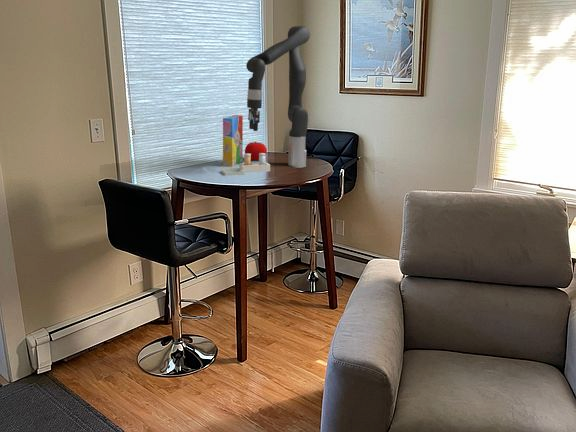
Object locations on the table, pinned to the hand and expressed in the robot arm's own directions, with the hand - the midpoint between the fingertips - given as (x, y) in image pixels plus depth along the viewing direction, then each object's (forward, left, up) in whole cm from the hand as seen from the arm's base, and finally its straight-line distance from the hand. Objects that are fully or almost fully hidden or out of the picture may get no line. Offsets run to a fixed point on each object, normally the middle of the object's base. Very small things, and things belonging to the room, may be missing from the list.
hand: (253, 129), depth 284 cm
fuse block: (0, +3, -22) cm, 22 cm away
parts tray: (+13, +7, -22) cm, 27 cm away
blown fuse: (+4, +3, -21) cm, 22 cm away
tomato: (-11, -33, -22) cm, 41 cm away
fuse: (-4, +3, -21) cm, 22 cm away
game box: (+6, -20, -22) cm, 31 cm away
